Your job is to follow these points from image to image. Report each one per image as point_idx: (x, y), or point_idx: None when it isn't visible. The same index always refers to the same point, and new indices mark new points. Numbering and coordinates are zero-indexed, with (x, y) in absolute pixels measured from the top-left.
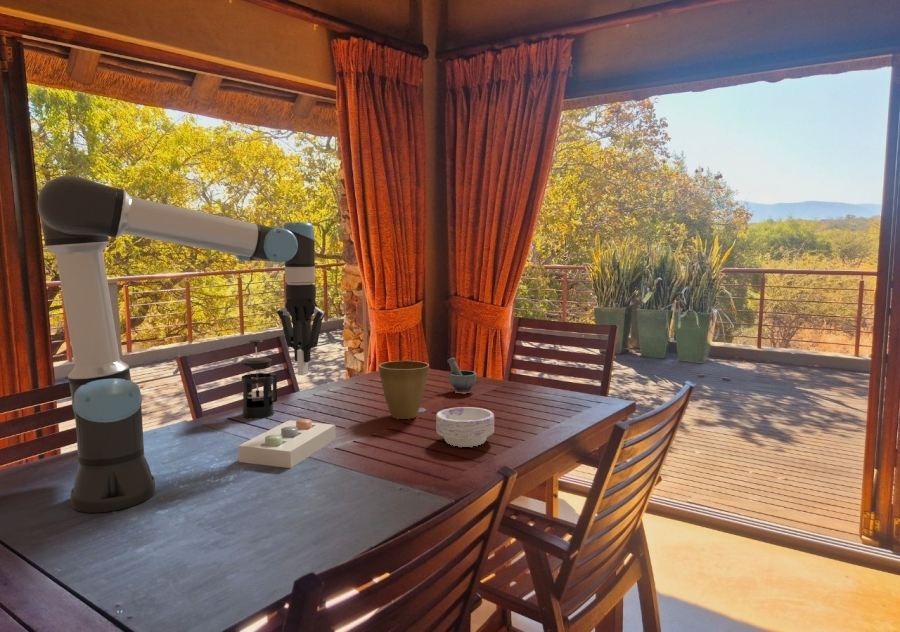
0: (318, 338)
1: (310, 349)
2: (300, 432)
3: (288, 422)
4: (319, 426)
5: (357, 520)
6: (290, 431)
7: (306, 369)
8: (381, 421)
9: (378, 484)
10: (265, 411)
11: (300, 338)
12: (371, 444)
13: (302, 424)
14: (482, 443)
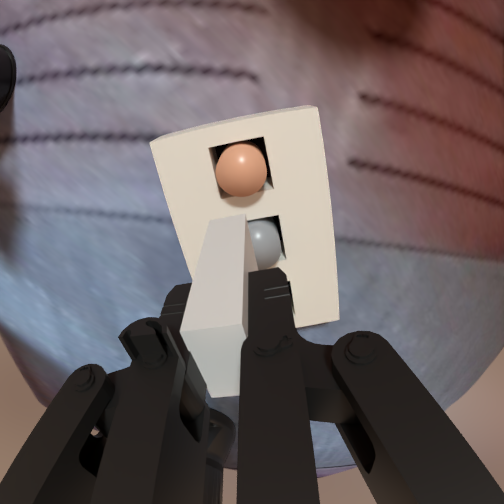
0: (435, 403)
1: (298, 335)
2: (271, 215)
3: (165, 159)
4: (283, 144)
5: (472, 352)
6: (275, 262)
7: (249, 245)
8: None
9: (482, 278)
10: (4, 82)
11: (180, 458)
12: (411, 104)
13: (253, 191)
14: None
